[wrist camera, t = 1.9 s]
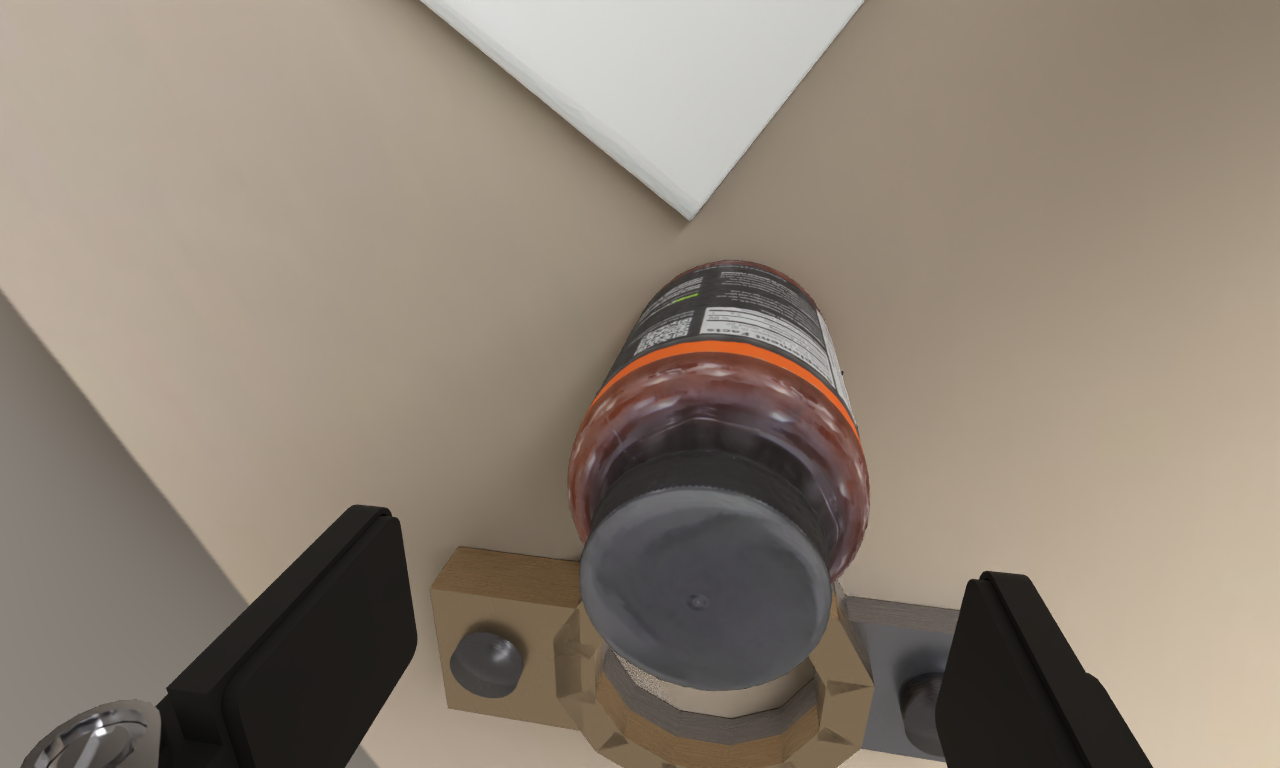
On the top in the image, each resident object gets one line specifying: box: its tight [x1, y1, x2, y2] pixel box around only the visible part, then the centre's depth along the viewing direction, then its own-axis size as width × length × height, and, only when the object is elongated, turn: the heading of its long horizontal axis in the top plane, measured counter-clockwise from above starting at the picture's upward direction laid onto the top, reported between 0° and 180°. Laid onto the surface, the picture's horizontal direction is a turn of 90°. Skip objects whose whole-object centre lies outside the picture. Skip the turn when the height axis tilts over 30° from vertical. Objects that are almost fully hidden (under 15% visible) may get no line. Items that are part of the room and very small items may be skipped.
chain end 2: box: [602, 579, 960, 762], centre depth 24 cm, size 16×11×2 cm
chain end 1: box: [430, 547, 875, 768], centre depth 24 cm, size 16×11×3 cm
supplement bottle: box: [568, 260, 870, 691], centre depth 15 cm, size 6×6×11 cm
